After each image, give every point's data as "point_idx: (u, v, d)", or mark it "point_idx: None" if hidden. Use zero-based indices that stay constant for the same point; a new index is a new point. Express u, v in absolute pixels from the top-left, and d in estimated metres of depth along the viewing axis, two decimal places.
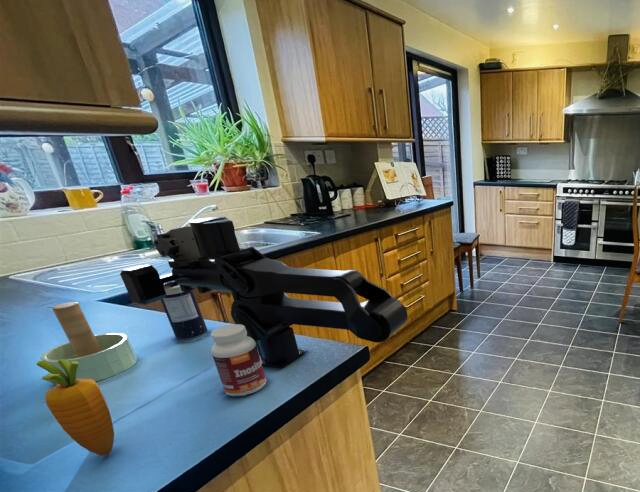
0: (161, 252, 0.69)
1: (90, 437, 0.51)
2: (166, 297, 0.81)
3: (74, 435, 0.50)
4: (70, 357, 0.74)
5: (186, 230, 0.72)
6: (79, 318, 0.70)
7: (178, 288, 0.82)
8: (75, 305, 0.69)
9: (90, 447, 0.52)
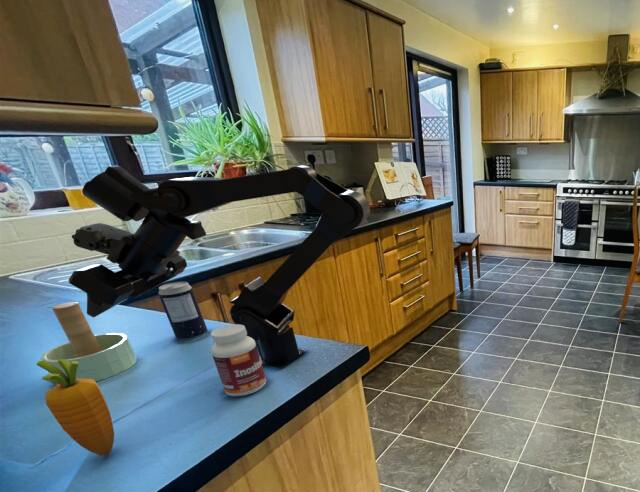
0: (89, 246, 0.62)
1: (90, 437, 0.51)
2: (166, 297, 0.81)
3: (74, 435, 0.50)
4: (70, 357, 0.74)
5: (98, 225, 0.66)
6: (79, 318, 0.70)
7: (178, 288, 0.82)
8: (75, 305, 0.69)
9: (90, 447, 0.52)
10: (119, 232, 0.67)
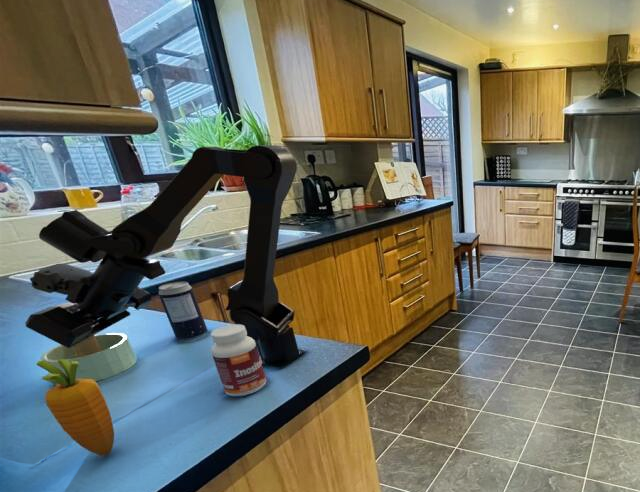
0: (47, 289, 0.64)
1: (90, 437, 0.51)
2: (166, 297, 0.81)
3: (74, 435, 0.50)
4: (70, 357, 0.74)
5: (57, 266, 0.67)
6: None
7: (178, 288, 0.82)
8: (75, 305, 0.69)
9: (90, 447, 0.52)
10: (79, 272, 0.68)
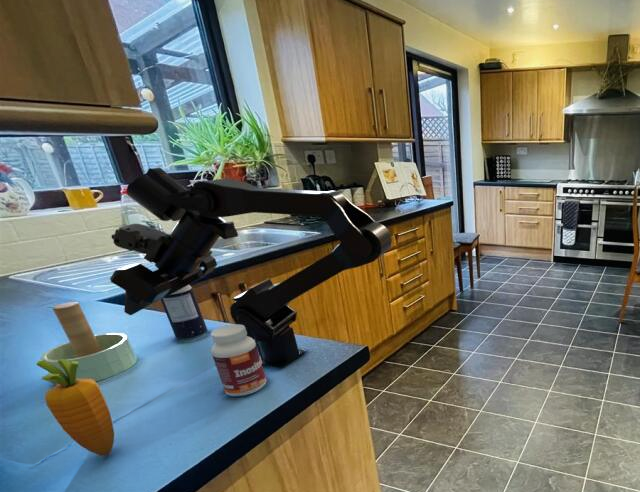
0: (129, 246, 0.64)
1: (90, 437, 0.51)
2: (166, 297, 0.81)
3: (74, 435, 0.50)
4: (70, 357, 0.74)
5: (135, 225, 0.68)
6: (79, 318, 0.70)
7: None
8: (75, 305, 0.69)
9: (90, 447, 0.52)
10: (155, 232, 0.68)
